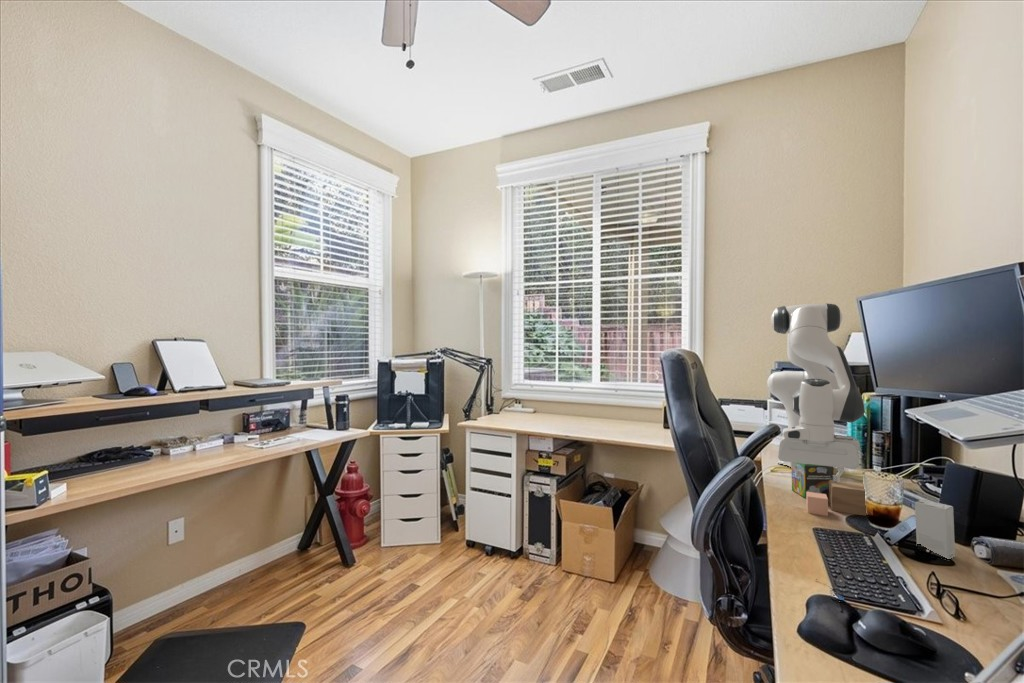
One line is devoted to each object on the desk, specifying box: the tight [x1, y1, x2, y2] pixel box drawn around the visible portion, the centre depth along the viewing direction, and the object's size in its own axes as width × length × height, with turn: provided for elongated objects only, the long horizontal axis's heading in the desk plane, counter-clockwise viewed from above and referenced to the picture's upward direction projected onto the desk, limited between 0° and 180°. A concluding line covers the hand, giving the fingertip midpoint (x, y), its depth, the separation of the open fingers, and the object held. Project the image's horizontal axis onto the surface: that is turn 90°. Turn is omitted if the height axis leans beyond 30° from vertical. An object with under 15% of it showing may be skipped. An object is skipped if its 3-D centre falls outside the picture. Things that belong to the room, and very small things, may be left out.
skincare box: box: [914, 498, 956, 560], centre depth 108 cm, size 6×4×12 cm
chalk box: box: [790, 463, 835, 500], centre depth 150 cm, size 9×9×15 cm
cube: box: [805, 492, 829, 517], centre depth 135 cm, size 5×5×5 cm
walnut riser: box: [828, 480, 867, 517], centre depth 137 cm, size 8×10×7 cm
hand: (816, 479), depth 135 cm, fingers open, 8 cm apart
